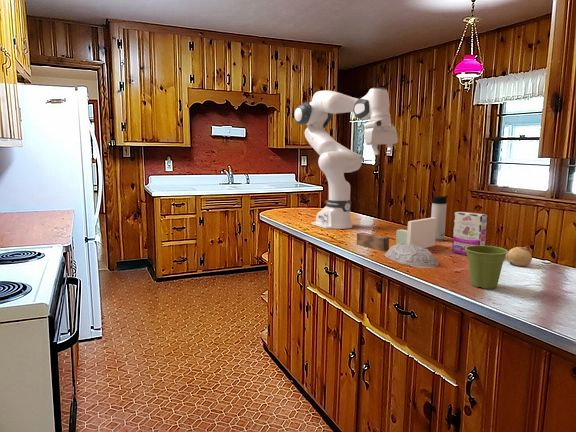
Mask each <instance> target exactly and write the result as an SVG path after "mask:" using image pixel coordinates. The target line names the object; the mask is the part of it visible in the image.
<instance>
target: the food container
mask: <svg viewBox="0 0 576 432" xmlns="http://www.w3.org/2000/svg"><path fill="white" fill-rule="evenodd" d="M384 257H386V258H388V259H389V260H391V261H394V262H397V263H398V264H401V265H407V266H411V267H415V268H423V269H424V268H426V269H427V268H428V269H429V268H430V269H431V268H435V267H438V266H440V261H438V260H437V258H436V256H435V255H434V254H433V253H432V251H430V250H429V249H428V248H422V247H419V246H415V245H413V244H403V243H400V244H399V245H396V244H394V245H391V246H389V250H386V252H385V253H384Z"/></svg>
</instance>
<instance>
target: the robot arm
mask: <svg viewBox="0 0 576 432" xmlns="http://www.w3.org/2000/svg"><path fill="white" fill-rule="evenodd" d="M389 97H390V96H389V92H388V90H387V88H385V87H371V88H370V89H369V90H368V92H367V93H366V94H365V95H364V96H362V97H361V98H357V97H352V96H350V95H347V94H344V93H341V92H338V91H335V90H328V89H327V90H319V91H316V92H315V93H314V94H313V96H312V97H311V98H312V100H311V101H310V102H308V101H305V102H304V103H302V104H299V105H298V106H296V108H295V109H294V112H293V117H294V118H293V119H294V122H296V123H297V124H299V125H303V126H305V125H306V126H307V127H306V128H305V130H304V137H305V140H306V141H307V143H308V144H309V146H310V147H311V148H313V150H314V151H315V152H316V153H317V154H318V155H319V157H318V161H317V163H318V167H319V169H320V170H321V172H323V174H324V175H325V178H326V180H327V184H328V199H326V200H325V201H324V203H325V206H324V207H323V208H322V209H320V211H318V212H317V213H316V216H315V221H312V222H311V223H310V224H311V225H313V226H316V227H320V228H323V229H327V230H328V229H334V230H335V229H337V230H338V229H351V228H353V224H352V217H351V207H352V200H351V184H350V182H349V181H347V180H346V178H345V173H346V174H347V173H353V172H356V171H359V169H360V168H361V167H362V164H363V162H362V161H363V160H362V157H361V155H360V154H359V153H357V152H355V151H354V150H353V151H352V149H349V148H347V147H346V146H344V145H342V144H341V143H339V142H337V141H336V140H335V139H334V138H333V137H332V136H331V135H330V133H328V132H327V131H326V130H325V128H326V127H328V125H329V123H330V121H331V120H332V116H333V115H334V114H345V113H353V114H354V116H355V117H356V119H359V120H369V121H366V122H365V123H364V124H363V128H364V142H365V144H366V146H371V148H372V150H373V155H375V156H379V155H380V150H379V149H378V146H379V145H387V150H386V154H387V155H391V154H392V153H393V152H392V151H393V150H392V149H393V147H394V144H397V143H398V142H399V139H398V133H397V129H396V127H395V125H394V124H393V123H392V119H391V114H390V107H391V106H390V98H389Z"/></svg>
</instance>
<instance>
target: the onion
mask: <svg viewBox="0 0 576 432" xmlns="http://www.w3.org/2000/svg"><path fill="white" fill-rule="evenodd" d="M505 258H506V260H507V262H508V263H509V264H510V265H511V266H512V265H515V266H518V267H527V266H528V265H530V264H531V262H532V261H533V257H532V254H531V252H530V251H529V250H528V246H525V247H523V246H519V247H518V246H515V247H513V248H511V249H509V250H508V253H507V254H506V256H505Z"/></svg>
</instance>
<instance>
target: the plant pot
mask: <svg viewBox="0 0 576 432" xmlns="http://www.w3.org/2000/svg"><path fill="white" fill-rule="evenodd" d="M465 250H467V256H466V257H467V259H468V268H469V277H470V284H471V286H473V287H475V288H479V287H480V288H482V289H484V290H488V289H489V290H491V289H492V290H493V289H496V288H497V287H498V286H499V285H498V283H499V282H500V280H499V279H500V277H501V271H502V269H503V265H504V261H505V259H506V256H507V253H508V251H509V250H508V249H506V248H503V247H499V246H493V245H485V246H484V245H473V246H467V247H465Z"/></svg>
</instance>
